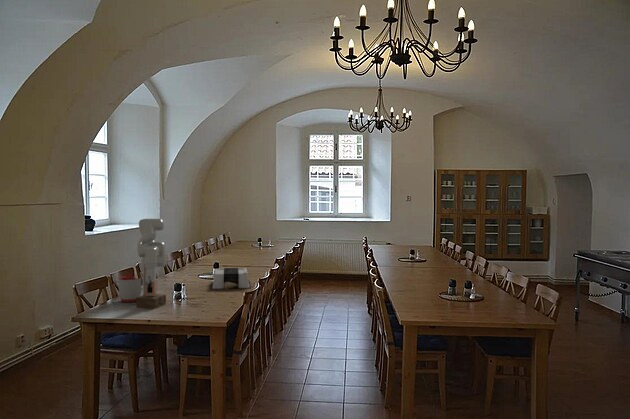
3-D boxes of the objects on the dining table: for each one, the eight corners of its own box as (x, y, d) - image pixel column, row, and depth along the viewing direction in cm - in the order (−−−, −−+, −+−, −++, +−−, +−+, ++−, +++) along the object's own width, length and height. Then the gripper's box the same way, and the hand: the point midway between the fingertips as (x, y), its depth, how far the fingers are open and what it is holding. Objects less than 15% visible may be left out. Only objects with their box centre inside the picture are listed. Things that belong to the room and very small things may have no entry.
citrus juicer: (148, 299, 364) (147, 272, 363) (130, 304, 348) (129, 275, 348) (132, 297, 371) (131, 270, 370) (113, 302, 355) (113, 274, 354)
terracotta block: (147, 292, 348) (147, 281, 347) (156, 292, 348) (156, 281, 348) (145, 294, 342) (145, 283, 341) (154, 294, 342) (154, 283, 342)
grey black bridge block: (251, 289, 406) (251, 274, 406) (209, 290, 401) (209, 274, 400) (249, 281, 441) (249, 267, 440) (211, 282, 436) (211, 267, 435)
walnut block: (148, 303, 354) (148, 293, 353) (165, 304, 350) (165, 294, 350) (136, 307, 340) (136, 297, 340) (154, 309, 337) (154, 299, 336)
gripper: (148, 263, 352) (149, 289, 353) (141, 267, 335) (142, 294, 336) (159, 263, 353) (159, 289, 353) (153, 267, 336) (153, 294, 336)
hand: (151, 291), depth 345 cm, fingers closed on terracotta block, 5 cm apart
